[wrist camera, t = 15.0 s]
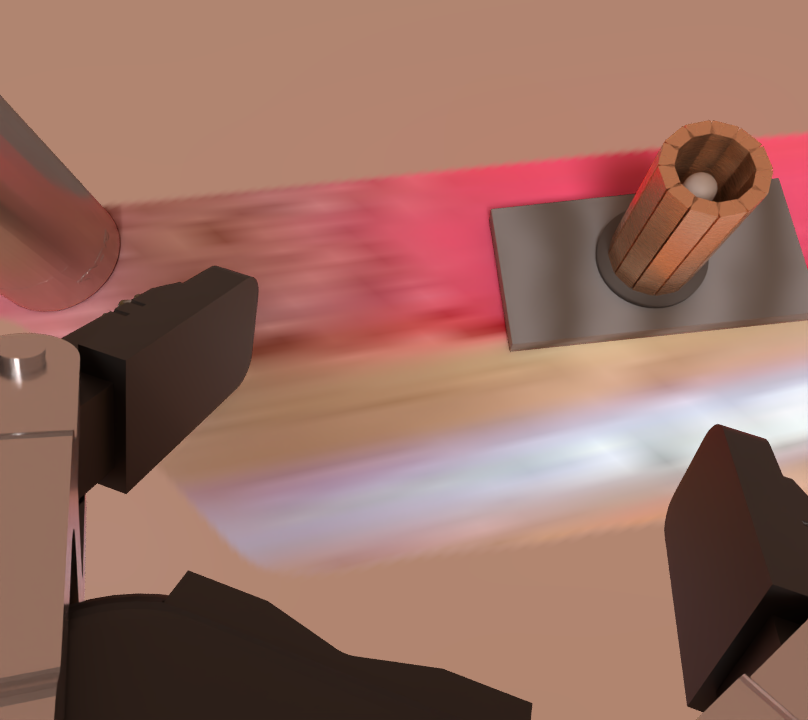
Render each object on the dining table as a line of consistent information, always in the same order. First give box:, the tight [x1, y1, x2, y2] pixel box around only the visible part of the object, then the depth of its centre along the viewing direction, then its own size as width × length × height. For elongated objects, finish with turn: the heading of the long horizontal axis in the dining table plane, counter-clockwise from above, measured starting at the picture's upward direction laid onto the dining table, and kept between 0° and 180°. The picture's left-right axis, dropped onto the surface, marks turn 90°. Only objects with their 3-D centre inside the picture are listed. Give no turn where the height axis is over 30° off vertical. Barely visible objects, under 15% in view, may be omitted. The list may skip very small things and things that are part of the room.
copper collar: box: [608, 120, 773, 296], centre depth 38 cm, size 6×6×10 cm
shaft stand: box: [489, 172, 808, 352], centre depth 40 cm, size 20×10×11 cm, turn 96°
